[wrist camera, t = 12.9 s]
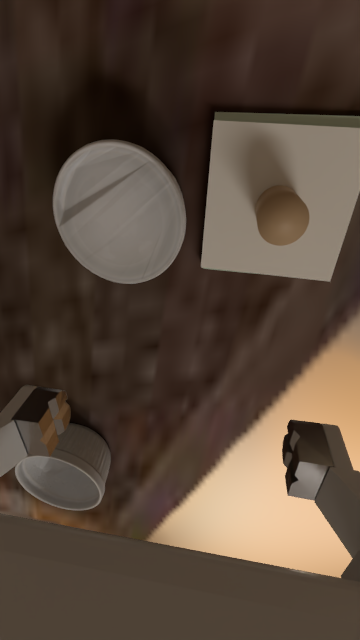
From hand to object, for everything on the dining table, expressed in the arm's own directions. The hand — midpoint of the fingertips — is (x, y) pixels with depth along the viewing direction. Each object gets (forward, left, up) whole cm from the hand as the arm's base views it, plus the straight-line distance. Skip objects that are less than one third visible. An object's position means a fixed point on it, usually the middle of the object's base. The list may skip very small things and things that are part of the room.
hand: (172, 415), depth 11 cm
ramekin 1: (+35, -19, -22) cm, 46 cm away
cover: (-3, +5, -22) cm, 22 cm away
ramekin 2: (-2, -8, -22) cm, 24 cm away
